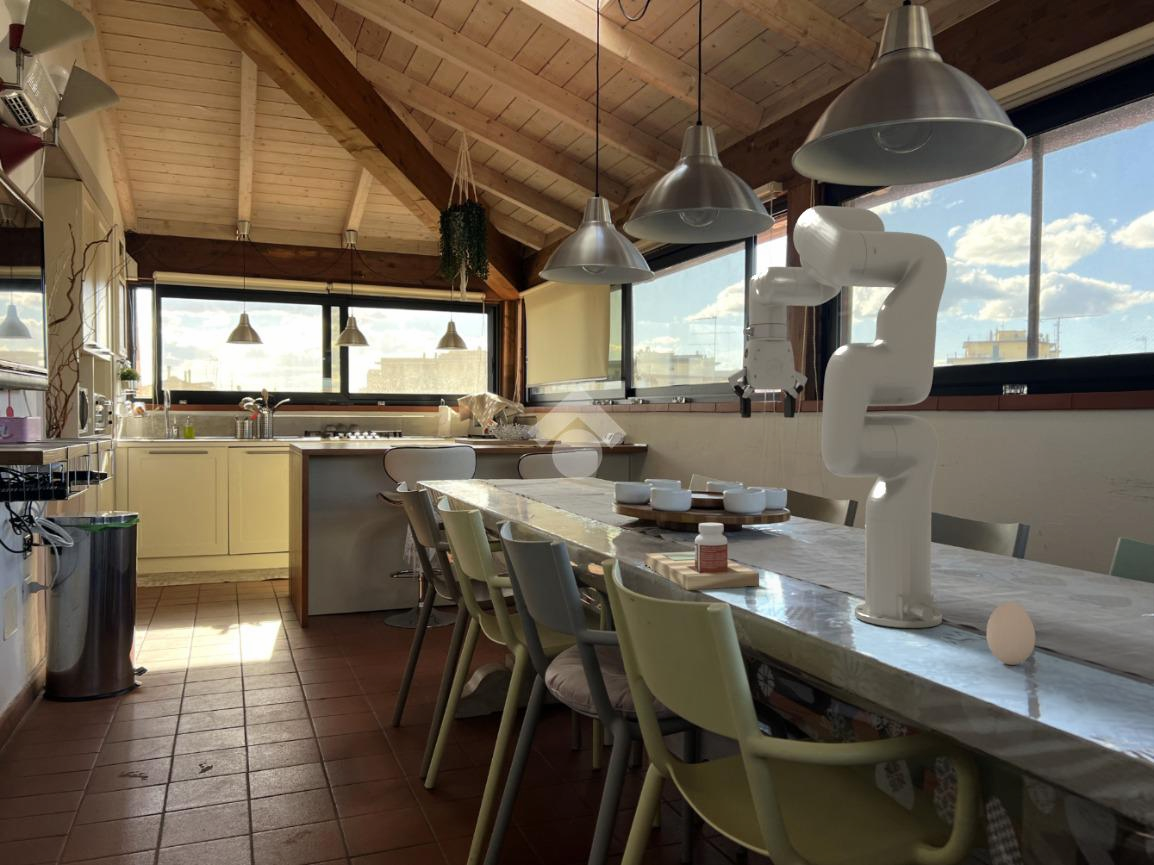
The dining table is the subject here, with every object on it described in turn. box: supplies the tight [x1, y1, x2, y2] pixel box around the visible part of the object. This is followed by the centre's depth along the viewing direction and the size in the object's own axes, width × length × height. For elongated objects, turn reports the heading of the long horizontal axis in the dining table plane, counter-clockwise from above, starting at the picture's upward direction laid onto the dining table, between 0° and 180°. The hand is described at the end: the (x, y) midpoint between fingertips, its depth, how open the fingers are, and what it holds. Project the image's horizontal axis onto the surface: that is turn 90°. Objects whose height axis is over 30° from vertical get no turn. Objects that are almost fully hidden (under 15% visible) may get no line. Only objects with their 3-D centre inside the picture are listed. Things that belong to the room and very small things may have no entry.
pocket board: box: [643, 550, 760, 591], centre depth 165 cm, size 26×14×3 cm, turn 13°
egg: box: [986, 601, 1036, 666], centre depth 106 cm, size 6×6×8 cm
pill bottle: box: [694, 522, 729, 573], centre depth 158 cm, size 6×6×11 cm
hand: (767, 417), depth 172 cm, fingers open, 9 cm apart
